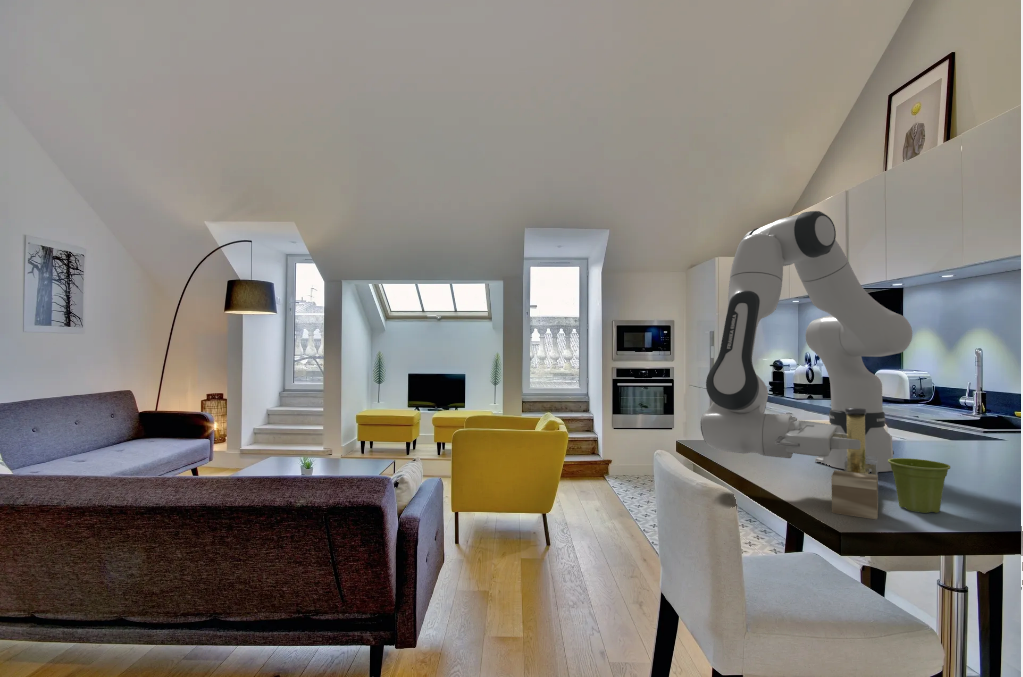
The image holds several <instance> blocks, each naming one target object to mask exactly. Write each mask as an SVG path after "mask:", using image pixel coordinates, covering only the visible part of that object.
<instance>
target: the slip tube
mask: <svg viewBox="0 0 1023 677" xmlns="http://www.w3.org/2000/svg"><path fill="white" fill-rule="evenodd" d="M845 414H847V439H850V438H852V439H859V440H860V441H861V448H860V449H847V472H856V473H865V474H870V472H869V469H866V453H865V415H866V409H862V408H845Z"/></svg>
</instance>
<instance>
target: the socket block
mask: <svg viewBox="0 0 1023 677" xmlns="http://www.w3.org/2000/svg"><path fill="white" fill-rule="evenodd" d="M830 478H831V513H832V514H839V515H844V516H850V517H858V518H865V519H871V520H878V515H879V482H878V481H879V474H878V475H874V474H871V473H869V474H865V473H856V472H847V471H845V470H835V469H834V471H833V473H832V474H831V477H830Z"/></svg>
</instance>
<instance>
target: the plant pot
mask: <svg viewBox="0 0 1023 677" xmlns="http://www.w3.org/2000/svg"><path fill="white" fill-rule="evenodd" d="M888 462H889V463H890V465H891V469H892V471H891V472H892V473H893V474H892V475H893V478H894V482H895V489H896V496H897V501H898V505H899V507H900V508H904V509H906V510H907V511H911V512H916V513H922V514H929V513H931V512H932V513H935V514H936V513H937V514H938V513H939V512H940V510H941V504H942V500H943V499H942V498H943V492H944V485H945V479H946V477H947V475H948V471H949V470H950V469H951V465H949V464H947V463H943V462H939V461H935V460H934V461H933V460H928V459H922V458H921V459H920V458H909V457H905V458H904V457H896V458H894V457H893V459H888Z"/></svg>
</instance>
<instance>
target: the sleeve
mask: <svg viewBox="0 0 1023 677" xmlns="http://www.w3.org/2000/svg"><path fill="white" fill-rule="evenodd" d="M866 469H871V473H870V474H874V475H878V476H879V472H878V459H877V457H874V456H866ZM843 470H844V471H847V457H846V459H845V461H844V469H843Z"/></svg>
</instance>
